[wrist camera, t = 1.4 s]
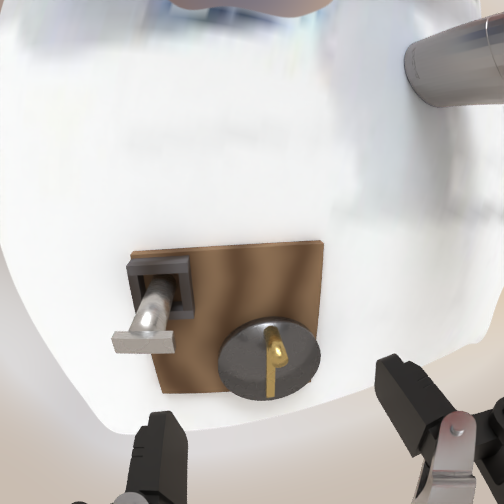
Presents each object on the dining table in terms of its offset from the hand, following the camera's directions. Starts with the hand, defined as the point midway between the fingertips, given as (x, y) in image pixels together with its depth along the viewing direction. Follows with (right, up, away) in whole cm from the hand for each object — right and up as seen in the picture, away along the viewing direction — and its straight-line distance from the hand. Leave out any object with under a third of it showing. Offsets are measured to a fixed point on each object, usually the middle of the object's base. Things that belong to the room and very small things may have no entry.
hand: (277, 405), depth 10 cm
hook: (-10, +2, +21) cm, 23 cm away
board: (-3, -3, +24) cm, 25 cm away
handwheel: (+1, -7, +24) cm, 25 cm away
